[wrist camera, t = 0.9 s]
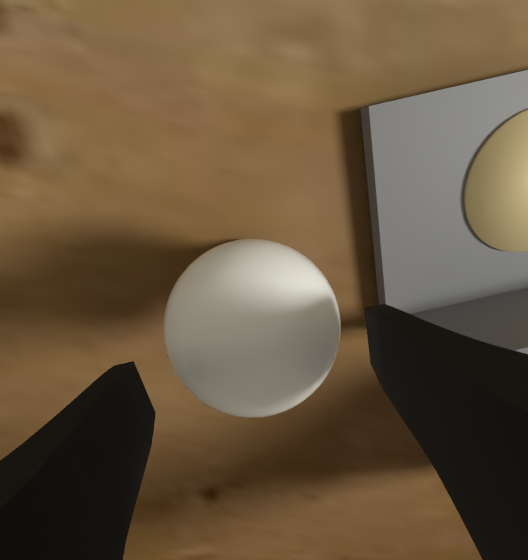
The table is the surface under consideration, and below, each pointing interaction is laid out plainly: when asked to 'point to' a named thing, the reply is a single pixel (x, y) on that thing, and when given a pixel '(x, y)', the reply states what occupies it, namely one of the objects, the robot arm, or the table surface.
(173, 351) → the lightbulb
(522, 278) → the lamp base
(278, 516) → the table surface
